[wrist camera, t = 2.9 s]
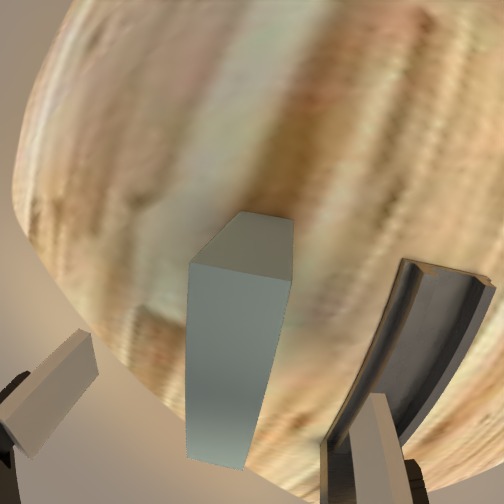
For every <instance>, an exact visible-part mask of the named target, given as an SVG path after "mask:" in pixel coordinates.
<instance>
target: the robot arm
mask: <svg viewBox="0 0 504 504" xmlns="http://www.w3.org/2000/svg"><path fill="white" fill-rule="evenodd" d="M98 375H99V373H98V369H97V364H96V359H95V355H94V349H93V344H92V339H91V333H88V332H85V331H83V330H81V329H78V330H77V331H76V332H75V333H73V334H72V335H71V336H70V337H69V338H68V339H67V340H66V341H65V342H64V343H63V344H61V345H60V346H59V347H58V348H57V349H56V350H55V351H54V352H53V353H52V354H51V355H50V356H49V357H48V358H46V360H44V361H43V363H42V364H40V365H39V366H38V367H37V368H36V369H35V370H34V371H33V372H32V373H30V372H29V371H26V372H23V373H21V374H19V375H18V376H16V377H15V378H14V379H13V380H12V381H11V383H9V384H8V385H7V386H6V388H4V389H3V390H2V391H1V392H0V504H21V501H20V495H19V490H18V483H17V477H16V468H15V458H14V450H13V445H14V444H15V445H16V446H17V448H18V449H19V450H20V452H22V453H23V454H25V455H26V456H27V457H28V458H30V459H31V460H32V459H33V458H34V457H35V455H36V454H37V453H38V451H39V450H40V449H41V447H42V446H43V445H44V443H45V442H46V440H47V439H48V438H49V437H50V435H51V434H52V433H53V431H54V430H55V429H56V427H57V426H58V425H59V424H60V422H61V421H62V420H63V418H64V417H65V416H66V415H67V413H68V412H69V411H70V410H71V408H72V407H73V406H74V405H75V403H76V402H77V401H78V399H79V398H80V397H81V396H82V394H83V393H84V392H85V391H86V389H87V388H88V387H89V386H90V385H91V383H92V382H93V381H94V380H95V378H96V377H97V376H98ZM349 434H350V442H351V450H352V458H353V467H354V476H355V487H356V498H357V504H429V500H428V496H427V492H426V488H425V483H424V480H423V476H422V472H421V468H420V467H419V465H418V464H417V463H416V461H415V460H414V459H410V460H403V456H402V452H401V448H400V445H399V441H398V437H397V433H396V430H395V426H394V423H393V419H392V416H391V412H390V409H389V406H388V402H387V399H386V396H385V394H382V393H370V394H369V396H368V398H367V399H366V401H365V403H364V405H363V407H362V408H361V410H360V412H359V413H358V415H357V417H356V419H355V420H354V422H353V424H352V425H351V427H350V428H349Z"/></svg>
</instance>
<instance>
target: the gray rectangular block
mask: <svg viewBox="0 0 504 504" xmlns="http://www.w3.org/2000/svg"><path fill="white" fill-rule="evenodd" d="M293 224H294V220H290V219H285V218H279V217H274V216H268V215H262V214H257V213H251V212H245V211H240V212H239V213H238V214H237V215H236V216H235V217H234V218H233V219H232V220H231V221H230V222H229V223H228V224H227V225H226V226H225V227H224V228H223V229H222V230H221V231H220V232H219V233H218V234H217V235H216V236H215V237H214V238H213V239H212V240H211V241H210V242H209V243H208V244H207V245H206V246H205V247H204V248H203V249H202V250H201V251H200V252H199V253H198V254H197V255H196V256H195V257H194V258H193V259H192V260H191V261H190V266H189V282H188V300H187V324H186V363H185V410H186V446H187V447H186V448H187V458H191V459H195V460H198V461H202V462H206V463H210V464H214V465H219V466H223V467H227V468H233V469H237V470H243V468H244V465H245V462H246V458H247V455H248V452H249V448H250V445H251V441H252V438H253V435H254V431H255V428H256V424H257V420H258V417H259V413H260V410H261V406H262V402H263V399H264V395H265V391H266V387H267V384H268V380H269V376H270V372H271V368H272V364H273V360H274V356H275V352H276V348H277V344H278V340H279V336H280V332H281V327H282V323H283V319H284V315H285V310H286V306H287V301H288V297H289V292H290V288H291V283H292V263H293Z"/></svg>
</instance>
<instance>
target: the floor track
mask: <svg viewBox="0 0 504 504" xmlns="http://www.w3.org/2000/svg"><path fill="white" fill-rule="evenodd" d="M490 282H491V279H489V278H488V277H486V276H481V275H477V274H472V273H468V272H464V271H459V270H455V269H450V268H446V267H441V266H436V265H432V264H427V263H422V262H418V261H413V260H408V259H404V258H402V262H401V265H400V268H399V272H398V275H397V278H396V281H395V284H394V287H393V290H392V293H391V296H390V298H389V301H388V304H387V307H386V310H385V312H384V315H383V318H382V320H381V323H380V325H379V328H378V330H377V333H376V335H375V338H374V340H373V343H372V345H371V347H370V350H369V352H368V354H367V357H366V359H365V361H364V363H363V365H362V368H361V370H360V372H359V374H358V376H357V378H356V380H355V382H354V385H353V387H352V389H351V391H350V393H349V395H348V397H347V399H346V400H345V402H344V404H343V406H342V408H341V410H340V412H339V414H338V416H337V417H336V419H335V421H334V423H333V425H332V426H331V428H330V430H329V432H328V433H327V435H326V437H325V438H324V440H323V442H322V443H321V445H320V504H357V498H356V487H355V476H354V467H353V458H352V450H351V442H350V434H349V428H350V427H351V425H352V424H353V422H354V420H355V419H356V417H357V415H358V413H359V412H360V410H361V408H362V407H363V405H364V403H365V401H366V399H367V398H368V396H369V394H370V393H382V394H385V396H386V399H387V402H388V406H389V409H390V412H391V416H392V419H393V423H394V426H395V430H396V433H397V437H398V441H399V445H400V448H401V447H402V446H403V445H404V444H405V443H406V442H407V440H408V439H409V438H410V437H411V435H412V434H413V433H414V432H415V430H416V429H417V428H418V427H419V425H420V424H421V423H422V421H423V420H424V419H425V417H426V416H427V415H428V413H429V412H430V410H431V409H432V408H433V406H434V405H435V403H436V402H437V400H438V399H439V398H440V396H441V395H442V393H443V391H444V390H445V388H446V387H447V385H448V384H449V382H450V381H451V379H452V377H453V376H454V374H455V372H456V371H457V369H458V367H459V365H460V364H461V362H462V360H463V358H464V357H465V355H466V353H467V351H468V349H469V347H470V345H471V344H472V342H473V340H474V338H475V336H476V334H477V332H478V329H479V327H480V325H481V323H482V321H483V319H484V317H485V314H486V312H487V310H488V307H489V305H490V303H491V300H492V298H493V295H494V293H495V290H496V287H495V286H494V285H493V284H491V283H490ZM401 452H402V448H401ZM402 456H403V452H402ZM403 460H404V456H403Z"/></svg>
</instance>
